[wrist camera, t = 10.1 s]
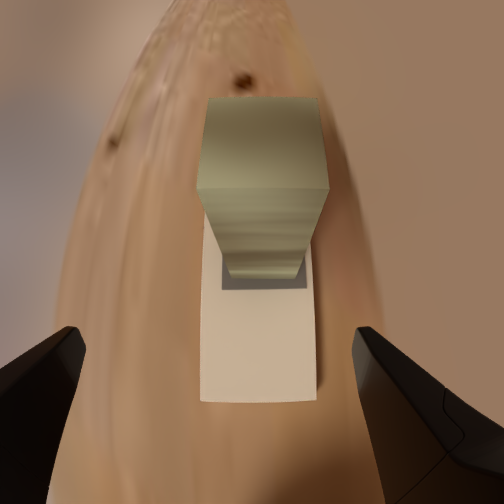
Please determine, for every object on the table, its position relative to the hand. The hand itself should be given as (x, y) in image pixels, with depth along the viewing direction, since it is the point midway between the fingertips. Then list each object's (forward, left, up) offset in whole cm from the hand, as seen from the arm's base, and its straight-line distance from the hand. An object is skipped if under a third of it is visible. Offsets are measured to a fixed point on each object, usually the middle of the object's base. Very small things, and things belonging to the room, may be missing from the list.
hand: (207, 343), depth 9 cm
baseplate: (+4, -1, -14) cm, 14 cm away
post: (+7, -2, -12) cm, 14 cm away
